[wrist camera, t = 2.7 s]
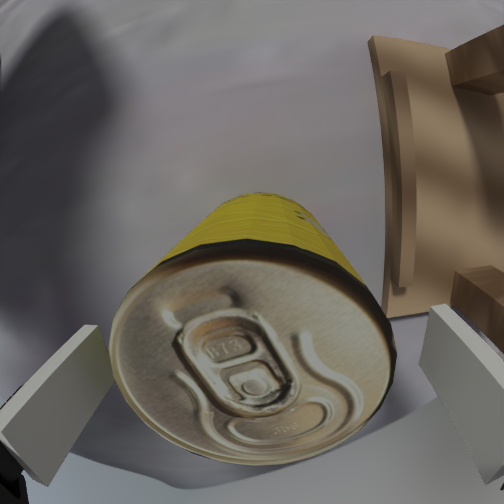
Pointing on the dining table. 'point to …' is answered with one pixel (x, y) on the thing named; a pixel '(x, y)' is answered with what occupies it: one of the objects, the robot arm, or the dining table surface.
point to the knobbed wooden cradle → (443, 177)
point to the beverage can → (253, 339)
